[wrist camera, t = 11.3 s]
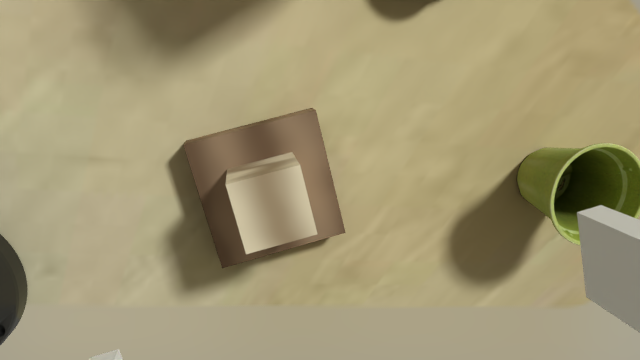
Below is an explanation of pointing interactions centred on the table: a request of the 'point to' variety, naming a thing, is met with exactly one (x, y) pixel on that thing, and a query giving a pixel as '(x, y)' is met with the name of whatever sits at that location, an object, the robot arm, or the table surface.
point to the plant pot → (580, 183)
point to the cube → (270, 202)
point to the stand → (254, 145)
